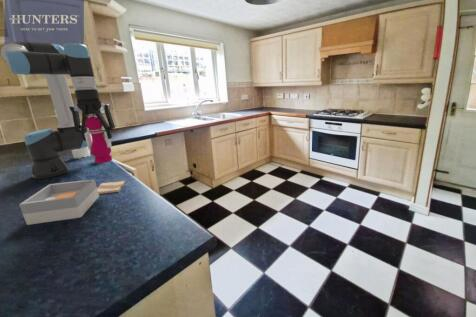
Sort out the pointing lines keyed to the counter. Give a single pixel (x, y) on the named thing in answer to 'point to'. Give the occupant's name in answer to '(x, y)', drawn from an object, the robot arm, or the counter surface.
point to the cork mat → (110, 187)
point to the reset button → (65, 195)
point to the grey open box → (60, 202)
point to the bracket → (82, 151)
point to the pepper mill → (98, 140)
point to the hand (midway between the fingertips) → (100, 147)
